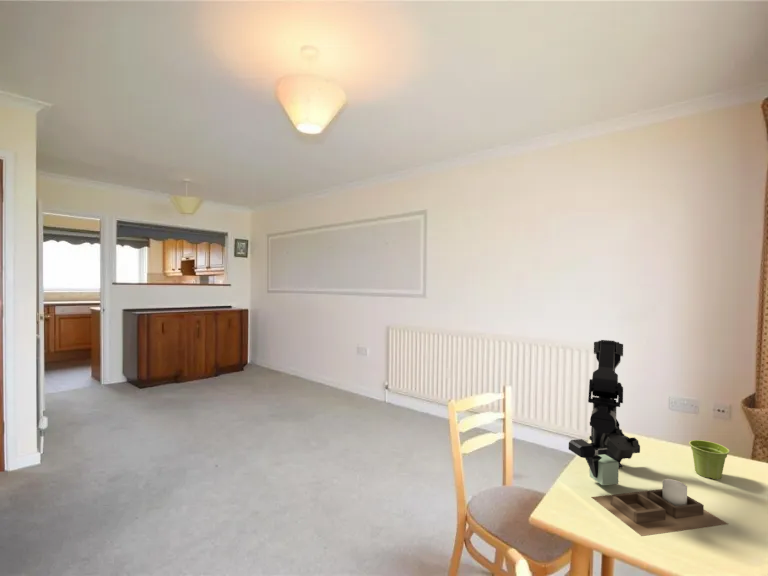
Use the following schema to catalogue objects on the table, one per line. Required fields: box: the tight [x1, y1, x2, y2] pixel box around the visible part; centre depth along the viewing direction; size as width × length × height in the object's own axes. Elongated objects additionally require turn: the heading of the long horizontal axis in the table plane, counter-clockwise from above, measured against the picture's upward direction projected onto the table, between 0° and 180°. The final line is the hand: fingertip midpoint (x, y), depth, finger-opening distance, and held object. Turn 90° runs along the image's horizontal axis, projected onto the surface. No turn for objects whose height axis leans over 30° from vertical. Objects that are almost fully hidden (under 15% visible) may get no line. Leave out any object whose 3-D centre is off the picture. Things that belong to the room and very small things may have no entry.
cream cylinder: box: [661, 478, 688, 506], centre depth 99 cm, size 5×5×6 cm
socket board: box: [591, 488, 729, 537], centre depth 98 cm, size 16×24×4 cm, turn 101°
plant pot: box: [688, 439, 731, 480], centre depth 117 cm, size 9×9×9 cm
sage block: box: [589, 454, 620, 486], centre depth 109 cm, size 5×5×6 cm
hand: (603, 476), depth 110 cm, fingers closed on sage block, 5 cm apart
